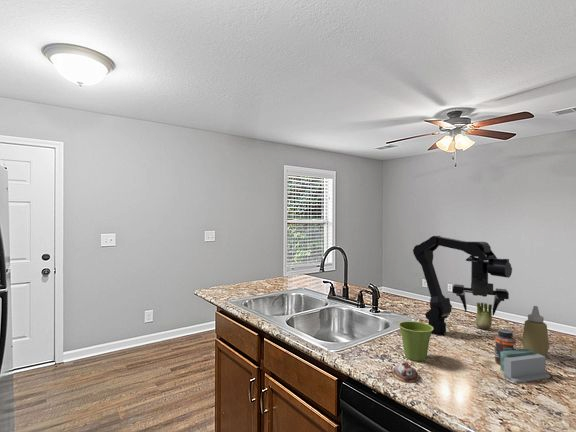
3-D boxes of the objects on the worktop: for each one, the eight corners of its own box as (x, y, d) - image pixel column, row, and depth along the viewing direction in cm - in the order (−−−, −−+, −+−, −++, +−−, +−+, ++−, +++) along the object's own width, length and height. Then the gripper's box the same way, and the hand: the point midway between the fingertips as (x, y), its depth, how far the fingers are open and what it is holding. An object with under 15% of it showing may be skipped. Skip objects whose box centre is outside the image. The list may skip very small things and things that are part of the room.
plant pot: (431, 353, 120) (431, 322, 120) (434, 367, 109) (435, 333, 109) (397, 348, 124) (398, 319, 124) (397, 361, 113) (398, 329, 113)
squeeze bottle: (516, 350, 123) (516, 303, 123) (536, 350, 124) (536, 303, 124) (534, 359, 115) (534, 309, 115) (555, 359, 116) (555, 309, 116)
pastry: (403, 385, 97) (403, 368, 97) (387, 373, 104) (387, 358, 104) (424, 380, 100) (424, 364, 100) (407, 369, 107) (407, 354, 107)
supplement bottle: (520, 368, 107) (520, 333, 107) (503, 368, 106) (504, 334, 107) (506, 360, 113) (507, 327, 113) (490, 360, 112) (491, 328, 112)
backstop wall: (503, 376, 102) (504, 357, 102) (537, 372, 106) (537, 353, 106) (515, 383, 99) (515, 363, 99) (550, 377, 102) (550, 358, 102)
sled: (478, 361, 114) (478, 341, 114) (503, 358, 116) (503, 339, 117) (507, 376, 103) (507, 354, 103) (533, 372, 106) (533, 351, 106)
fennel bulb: (492, 329, 147) (493, 303, 147) (487, 331, 144) (487, 304, 144) (479, 326, 151) (479, 300, 151) (474, 328, 149) (474, 302, 149)
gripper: (451, 274, 125) (451, 314, 125) (510, 279, 115) (509, 323, 115) (453, 270, 134) (453, 307, 134) (507, 274, 125) (507, 315, 125)
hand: (479, 313), depth 127 cm, fingers open, 9 cm apart
